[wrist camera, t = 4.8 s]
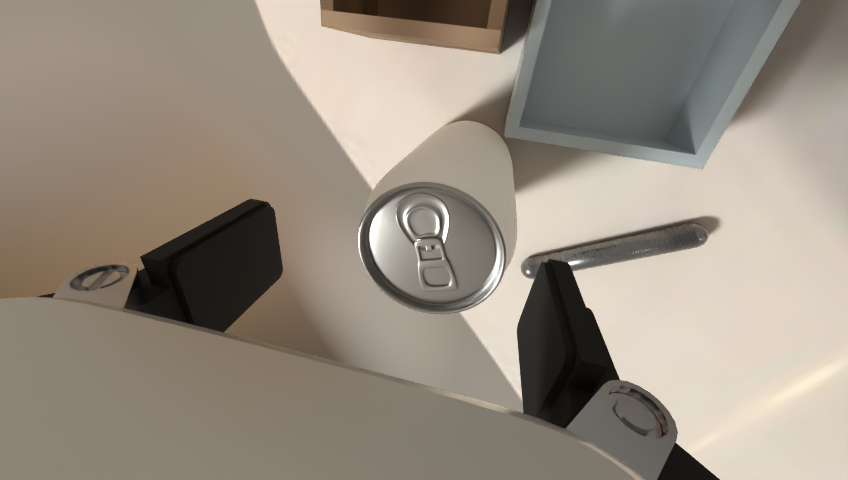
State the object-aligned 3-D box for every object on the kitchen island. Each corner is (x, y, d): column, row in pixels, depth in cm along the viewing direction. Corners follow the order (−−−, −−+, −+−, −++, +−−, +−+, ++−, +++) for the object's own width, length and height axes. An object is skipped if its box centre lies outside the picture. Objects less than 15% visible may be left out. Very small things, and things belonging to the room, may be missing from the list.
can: (506, 109, 19) (508, 152, 9) (517, 204, 22) (527, 321, 12) (410, 130, 21) (322, 186, 11) (430, 215, 24) (375, 324, 14)
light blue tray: (776, -68, 14) (868, -114, 10) (665, 150, 18) (702, 169, 15) (553, -82, 15) (567, -128, 11) (504, 125, 20) (504, 137, 16)
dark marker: (699, 216, 20) (713, 226, 18) (700, 237, 20) (714, 249, 19) (518, 256, 24) (518, 267, 23) (523, 273, 25) (524, 284, 23)
